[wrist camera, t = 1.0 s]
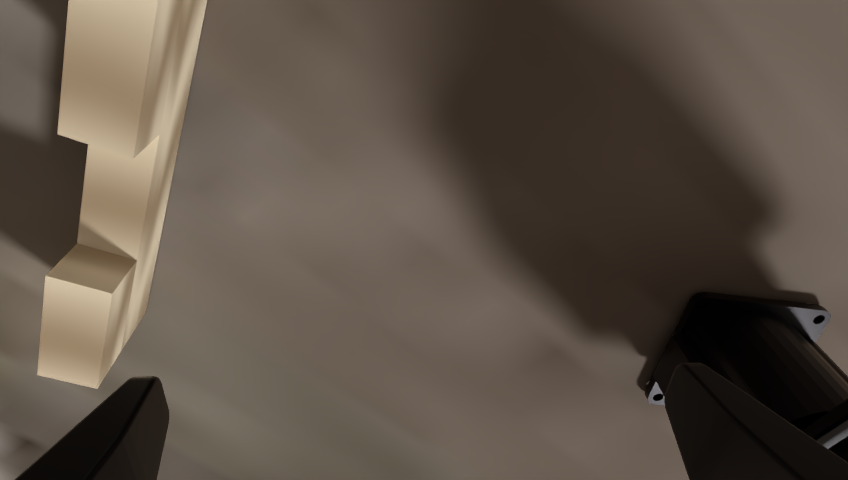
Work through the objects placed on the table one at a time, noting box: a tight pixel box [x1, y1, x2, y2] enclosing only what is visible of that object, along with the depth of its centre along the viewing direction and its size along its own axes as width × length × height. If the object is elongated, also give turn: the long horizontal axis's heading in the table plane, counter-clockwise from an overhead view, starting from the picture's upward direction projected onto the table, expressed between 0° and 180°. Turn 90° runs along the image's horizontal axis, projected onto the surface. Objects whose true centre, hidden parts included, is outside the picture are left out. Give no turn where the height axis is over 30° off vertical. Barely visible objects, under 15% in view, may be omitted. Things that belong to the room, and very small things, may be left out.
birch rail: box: [37, 0, 207, 389], centre depth 19 cm, size 14×2×4 cm, turn 158°
